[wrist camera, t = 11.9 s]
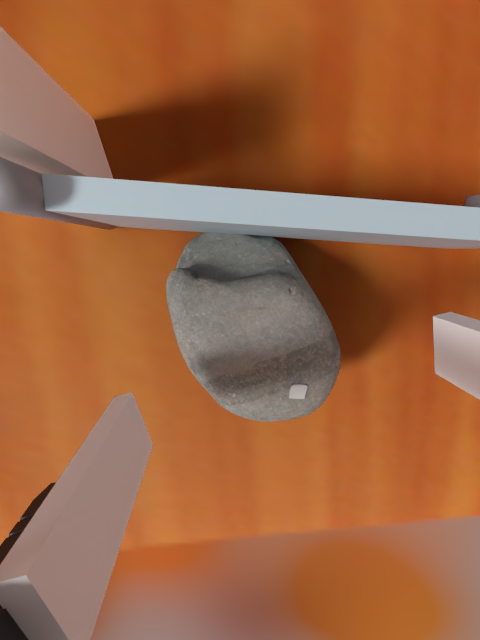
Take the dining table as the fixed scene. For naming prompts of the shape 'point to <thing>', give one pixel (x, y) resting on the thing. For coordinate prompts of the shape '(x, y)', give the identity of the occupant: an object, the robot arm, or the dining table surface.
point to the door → (235, 210)
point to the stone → (252, 327)
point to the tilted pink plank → (44, 120)
